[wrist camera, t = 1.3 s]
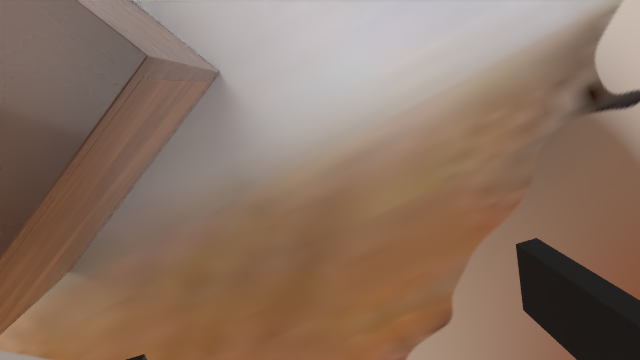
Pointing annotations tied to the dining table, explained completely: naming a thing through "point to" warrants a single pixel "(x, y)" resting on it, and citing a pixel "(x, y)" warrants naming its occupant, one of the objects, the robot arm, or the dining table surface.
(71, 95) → the open box
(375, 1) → the dining table surface
